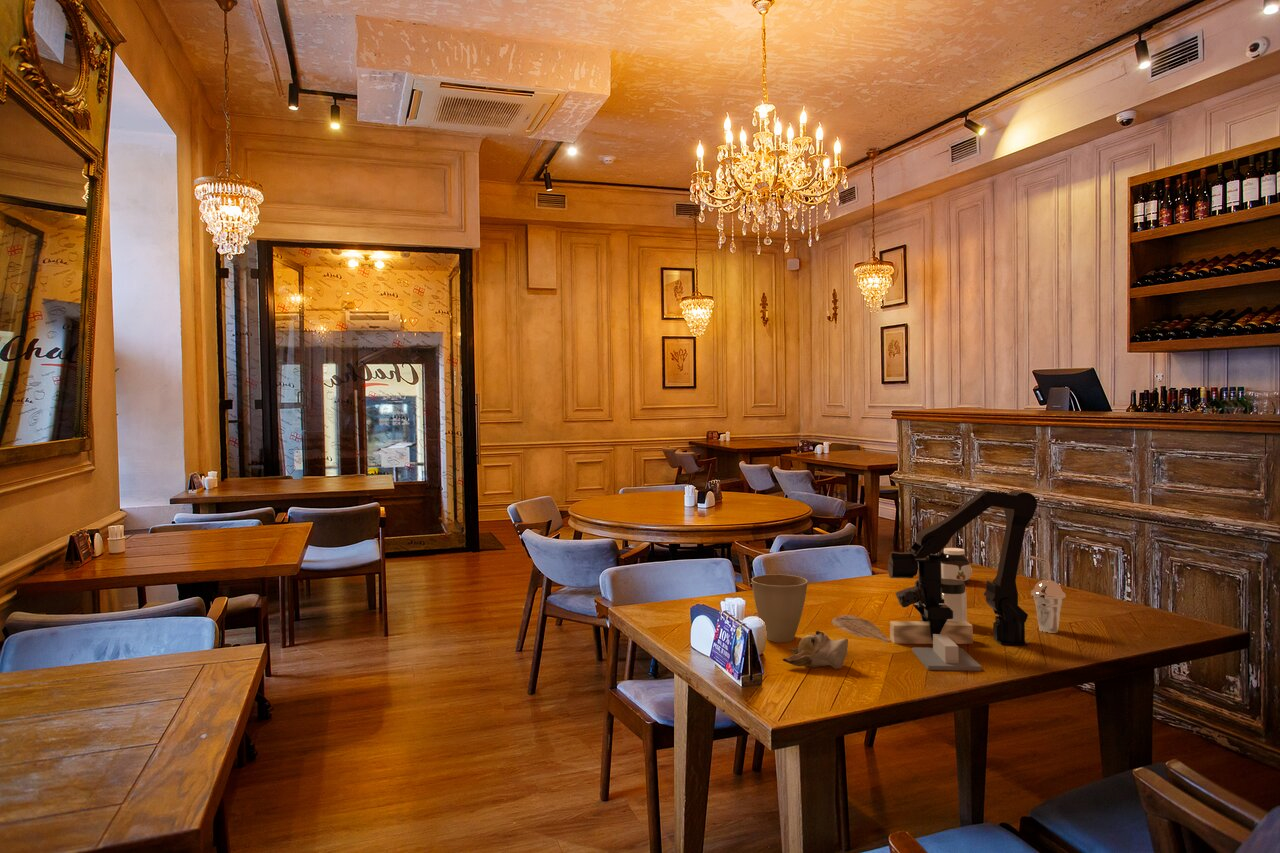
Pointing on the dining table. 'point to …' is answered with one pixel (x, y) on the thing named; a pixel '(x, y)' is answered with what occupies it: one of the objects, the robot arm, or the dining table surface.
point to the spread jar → (956, 565)
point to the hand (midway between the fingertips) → (930, 637)
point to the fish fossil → (859, 627)
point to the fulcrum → (945, 656)
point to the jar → (955, 598)
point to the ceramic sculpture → (819, 651)
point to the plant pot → (779, 604)
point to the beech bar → (921, 632)
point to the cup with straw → (1047, 602)
